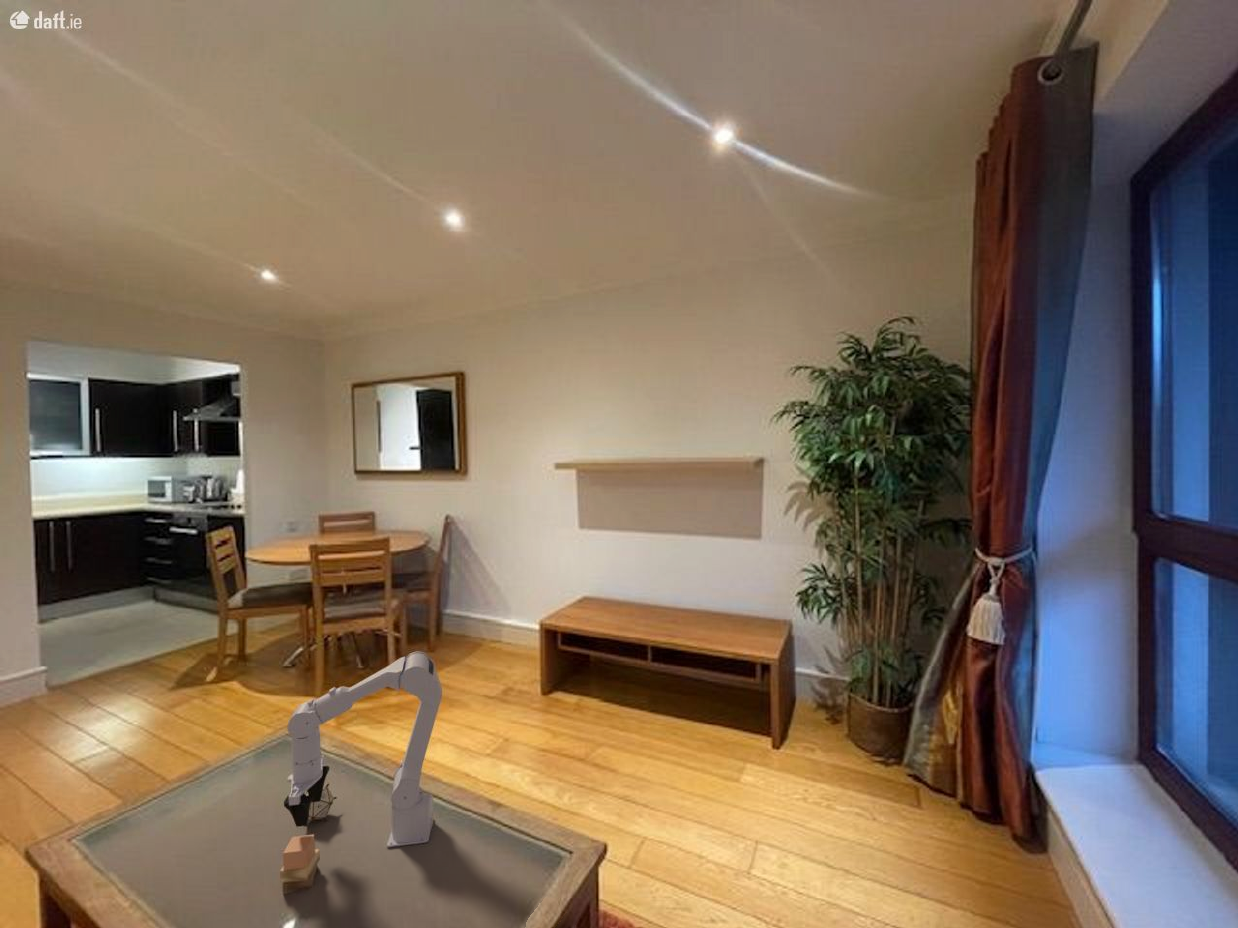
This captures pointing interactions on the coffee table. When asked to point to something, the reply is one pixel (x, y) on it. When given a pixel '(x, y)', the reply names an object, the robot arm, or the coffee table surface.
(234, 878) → the coffee table surface
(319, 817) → the game die
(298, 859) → the terracotta block
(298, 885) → the walnut slab
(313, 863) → the oak slab
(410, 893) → the coffee table surface
